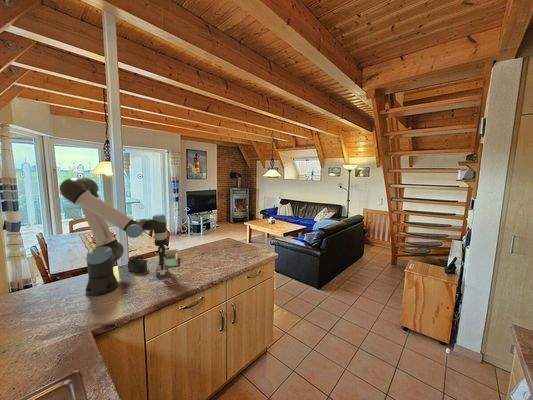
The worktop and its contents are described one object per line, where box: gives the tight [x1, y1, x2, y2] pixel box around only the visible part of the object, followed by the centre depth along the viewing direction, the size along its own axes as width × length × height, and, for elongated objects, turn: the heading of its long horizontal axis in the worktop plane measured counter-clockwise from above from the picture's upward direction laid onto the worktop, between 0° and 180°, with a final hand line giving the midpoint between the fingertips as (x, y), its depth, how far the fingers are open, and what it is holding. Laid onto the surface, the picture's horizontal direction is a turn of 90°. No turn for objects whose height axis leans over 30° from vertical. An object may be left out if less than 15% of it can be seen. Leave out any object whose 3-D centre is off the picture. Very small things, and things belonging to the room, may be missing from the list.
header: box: [157, 248, 179, 268], centre depth 173 cm, size 20×13×7 cm, turn 21°
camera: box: [127, 254, 148, 273], centre depth 159 cm, size 13×10×10 cm
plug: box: [155, 265, 170, 278], centre depth 153 cm, size 7×6×5 cm
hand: (163, 270), depth 153 cm, fingers open, 13 cm apart
